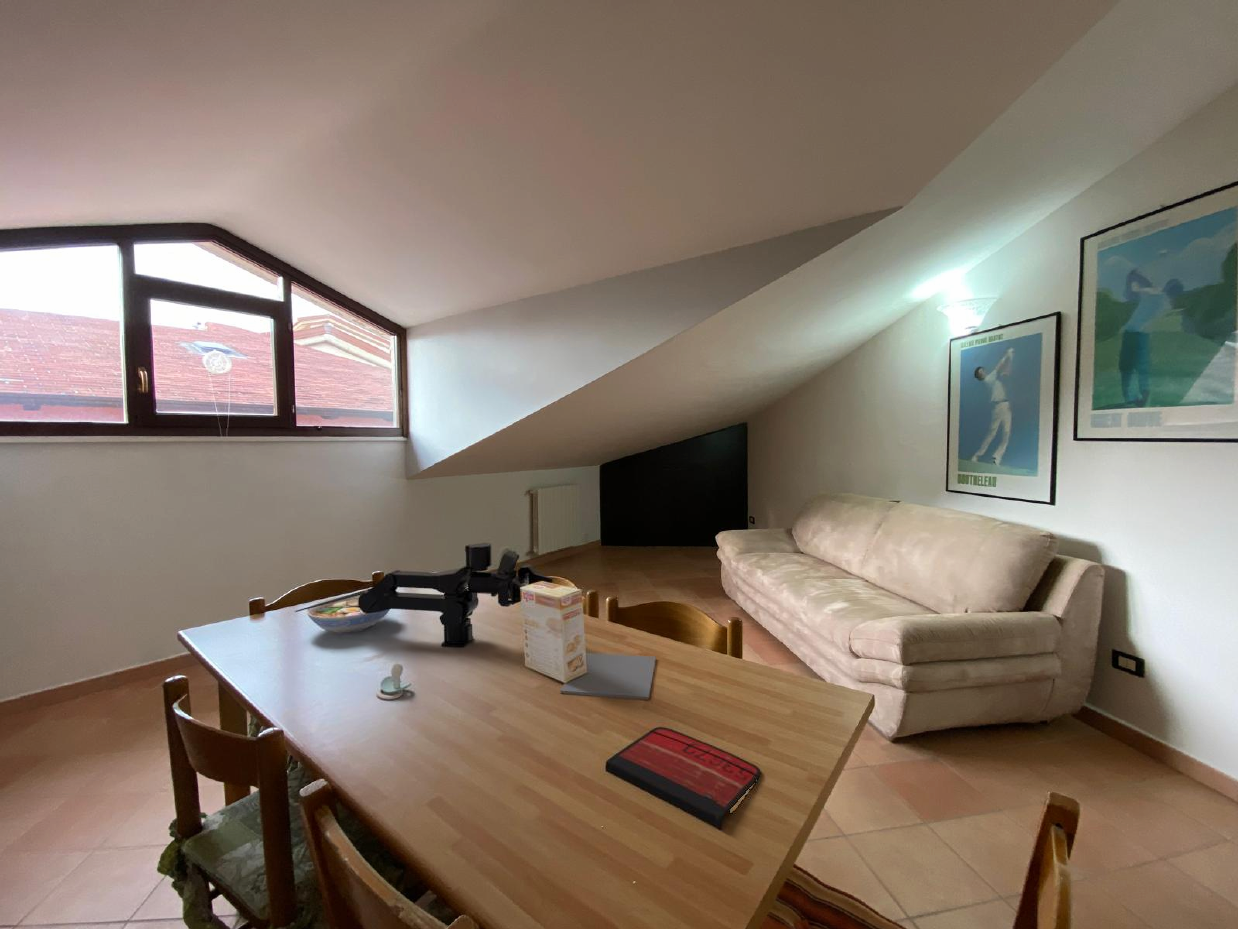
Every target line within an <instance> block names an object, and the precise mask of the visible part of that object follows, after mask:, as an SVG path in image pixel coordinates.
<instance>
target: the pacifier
mask: <svg viewBox="0 0 1238 929" xmlns="http://www.w3.org/2000/svg"><path fill="white" fill-rule="evenodd" d="M403 669H404V667H403V665H402V664H401V663H400V662H395V663H394V664H393V665H392V667H391V673H390V674H391V675H389V676H386V677H384V678H383V679H382V681H381V682H380V688H379V689H377V691H376V692H375V693H376V696H377V697H378V698H380V699H383V700H395V699H397V698H400V697H401V696H402V695H403V692H404V690H405V689H407V688H409V687H411V686H412V683H411V682H410V683H405V684H403V682H402V680H401V676H402V675H403V671H404V670H403ZM383 693H388V695H387V694H383ZM389 694H390V695H389Z"/></svg>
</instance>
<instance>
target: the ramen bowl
mask: <svg viewBox="0 0 1238 929" xmlns="http://www.w3.org/2000/svg"><path fill="white" fill-rule="evenodd" d="M371 588H372V587H371ZM371 588H366V589H364V590H363V589H362V590H360V591H356V592H353V593H351V594H343V595H339V596H333V597H328V598H326V599H323V600H319V601H317V602H315V603H313V604H311V605H309V606H307V607H304V608H303V607H302V608H301V609H297V610H295V611H293V612H294V613H297V612H301V611H304V610H306V611H305V613H306V614H307V616H308V618H310V619H311V621H312V622H313V623H314V624H316V625H317V626H318V627H319V628H321V629H323V630H325V631H329V632H336V633H340V634H353V633H358V632H361V631H363V630H365V629H367V628H369V627H370V626H373V625H376V624H377V623H378V622H379V621H381V620H383V618H384V617H386V616H387V614H389V612H390V610H391V609H389V610H385V611H381V612H375V613H364V612H362V610H361V609H360V607H359V605H358V599H359V597H360V595H361V594H363V593H365V592H367V591H369V590H370V589H371Z"/></svg>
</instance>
